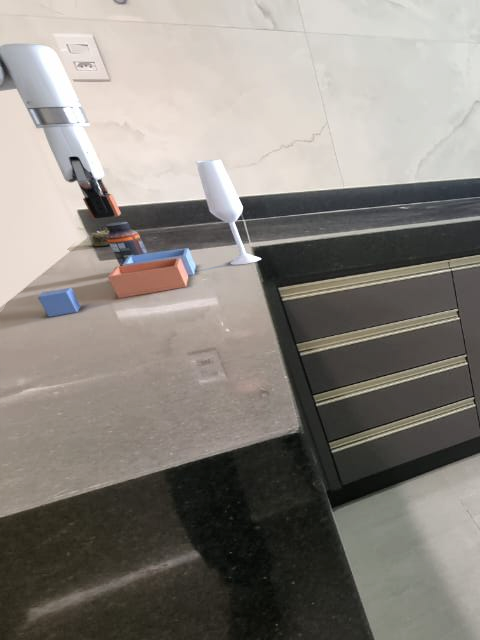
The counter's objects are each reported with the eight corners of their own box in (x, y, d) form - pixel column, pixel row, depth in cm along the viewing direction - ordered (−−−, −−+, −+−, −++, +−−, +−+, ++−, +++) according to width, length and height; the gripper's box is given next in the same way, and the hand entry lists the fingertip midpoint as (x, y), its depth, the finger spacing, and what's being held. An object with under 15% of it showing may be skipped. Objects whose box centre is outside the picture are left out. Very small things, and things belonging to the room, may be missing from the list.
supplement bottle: (149, 264, 134) (129, 219, 130) (157, 267, 131) (136, 221, 126) (119, 270, 130) (97, 224, 125) (126, 274, 127) (104, 226, 122)
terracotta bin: (118, 298, 109) (107, 276, 107) (125, 287, 116) (115, 266, 114) (186, 286, 115) (177, 266, 113) (188, 276, 122) (180, 257, 120)
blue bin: (131, 284, 118) (122, 264, 116) (137, 275, 125) (128, 256, 123) (194, 274, 124) (185, 255, 122) (195, 266, 131) (188, 247, 129)
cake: (101, 249, 157) (90, 232, 154) (90, 247, 162) (79, 229, 159) (141, 239, 164) (131, 222, 161) (129, 237, 169) (119, 220, 166)
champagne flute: (258, 256, 138) (222, 158, 128) (264, 260, 134) (228, 159, 123) (227, 261, 134) (188, 161, 124) (232, 266, 130) (192, 162, 119)
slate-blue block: (48, 317, 100) (37, 297, 98) (53, 311, 103) (42, 292, 101) (77, 312, 102) (66, 292, 100) (81, 306, 105) (71, 287, 103)
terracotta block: (92, 219, 107) (82, 198, 105) (96, 216, 110) (86, 196, 108) (118, 215, 109) (109, 196, 107) (121, 213, 112) (112, 194, 110)
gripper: (43, 120, 105) (89, 213, 113) (20, 119, 93) (74, 224, 101) (93, 118, 109) (135, 208, 117) (78, 117, 97) (125, 218, 105)
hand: (106, 214), depth 109 cm, fingers closed on terracotta block, 4 cm apart
